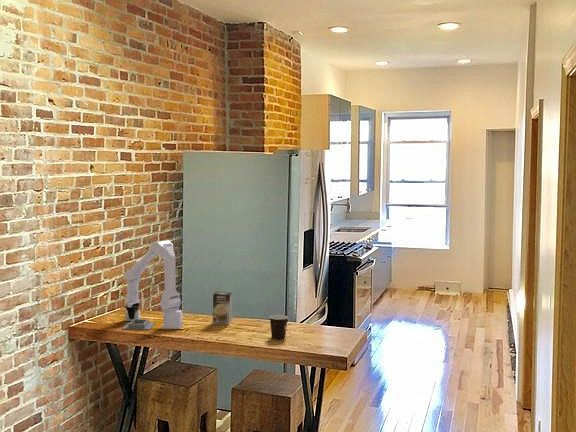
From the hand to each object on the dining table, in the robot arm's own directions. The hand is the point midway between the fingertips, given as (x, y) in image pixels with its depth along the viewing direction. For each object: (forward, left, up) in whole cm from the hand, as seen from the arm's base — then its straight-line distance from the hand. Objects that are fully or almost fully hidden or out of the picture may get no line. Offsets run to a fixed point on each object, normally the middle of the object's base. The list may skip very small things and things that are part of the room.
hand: (132, 317), depth 344 cm
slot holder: (-6, +12, -1) cm, 13 cm away
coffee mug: (-76, +29, -2) cm, 81 cm away
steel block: (0, 0, -1) cm, 1 cm away
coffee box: (-47, +2, -2) cm, 47 cm away
